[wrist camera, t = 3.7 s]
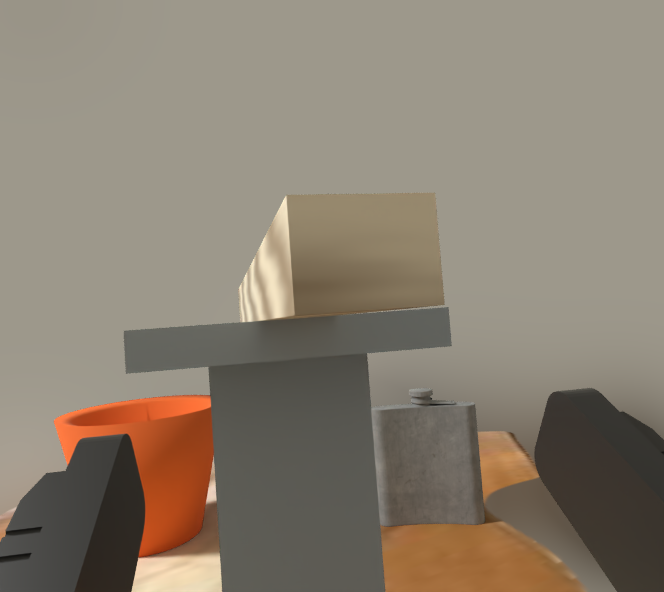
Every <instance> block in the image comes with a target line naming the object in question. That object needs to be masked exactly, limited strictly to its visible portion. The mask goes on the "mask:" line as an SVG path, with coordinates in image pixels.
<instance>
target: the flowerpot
mask: <svg viewBox="0 0 664 592" xmlns="http://www.w3.org/2000/svg"><path fill="white" fill-rule="evenodd" d="M54 424H55V427H56V429H57V433H58V436H59V439H60V442H61V446H62V448H63V452H64V455H65V458H66V461H67V465H68V464H69V462H70V459H71V457H72V454H73V452H74V449H75V447H76V445H77V443H78V441H79V440H80V439H82V438H87V437H97V436H107V435H117V434H128V435H129V436H130V438H131V441H132V445H133V449H134V453H135V458H136V462H137V466H138V470H139V474H140V479H141V483H142V487H143V491H144V497H145V525H144V532H143V537H142V542H141V546H140V551H139V556H138V557H144V556H149V555H153V554H157V553H161V552H164V551H167V550H170V549H173V548H175V547H177V546H180V545H182V544H184V543H185V542H187V541H189V540H190V539H192V538H193V537H195V536H196V535H197V534H198V533H199V532H200V530H201V528H202V524H203V518H204V511H205V505H206V499H207V493H208V487H209V481H210V474H211V468H212V462H213V456H214V447H213V431H212V415H211V398H210V396H209V395H182V396H181V395H180V396H166V397H165V396H164V397H154V398H145V399H137V400H129V401H122V402H116V403H110V404H105V405H100V406H94V407H90V408H86V409H82V410H77V411H74V412H70V413H68V414H65V415H62V416H60V417H58V418H56V419H55V420H54Z"/></svg>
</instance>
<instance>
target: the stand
mask: <svg viewBox="0 0 664 592" xmlns="http://www.w3.org/2000/svg"><path fill="white" fill-rule="evenodd" d="M124 346H125V364H126V373H138V372H151V371H163V370H174V369H185V368H198V367H209V382H210V398H211V415H212V431H213V447H214V463H215V480H216V496H217V512H218V528H219V544H220V561H221V577H222V592H385V583H384V570H383V557H382V544H381V531H380V517H379V504H378V491H377V478H376V465H375V452H374V439H373V426H372V413H371V400H370V387H369V374H368V361H367V353H375V352H387V351H398V350H411V349H423V348H434V347H446V346H451V333H450V322H449V309H448V307H446V308H432V309H419V310H404V311H391V312H377V313H363V314H349V315H336V316H322V317H308V318H294V319H281V320H267V321H253V322H239V323H227V324H212V325H198V326H184V327H171V328H157V329H145V330H129V331H124Z"/></svg>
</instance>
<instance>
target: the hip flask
mask: <svg viewBox="0 0 664 592" xmlns="http://www.w3.org/2000/svg"><path fill="white" fill-rule="evenodd" d="M432 394H433V393H432V389H429V388H419V389H418V388H417V389H411V390H409V395H410V396H412V398H411V403H412V404H401V405H389V406H377V407H372V408H371V413H372V426H373V439H374V452H375V465H376V478H377V491H378V504H379V517H380V525H382V526H387V527H390V526H400V525H413V524H470V525H479V524H483V523H484V522H485V514H484V503H483V491H482V479H481V468H480V456H479V444H478V433H477V421H476V409H475V403H472V402H454V401H439V400H438V401H437V400H432V398H430V395H432Z"/></svg>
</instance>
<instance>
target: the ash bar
mask: <svg viewBox="0 0 664 592" xmlns="http://www.w3.org/2000/svg"><path fill="white" fill-rule="evenodd" d="M238 292H239V308H240V322H253V321H267V320H281V319H294V318H308V317H322V316H336V315H347V314H357V313H367V312H377V311H387V310H397V309H407V308H417V307H428V306H438V305H444V293H443V280H442V269H441V256H440V246H439V233H438V221H437V209H436V198H435V193H389V194H388V193H386V194H318V195H317V194H316V195H286V197H285V198H284V201H283V202H282V205H281V207H280V208H279V210H278V212H277V214H276V216H275V218H274V220H273V222H272V224H271V226H270V228H269V230H268V232H267V234H266V236H265V238H264V240H263V242H262V244H261V246H260V248H259V250H258V252H257V254H256V256H255V258H254V260H253V262H252V264H251V266H250V268H249V270H248V272H247V274H246V276H245V278H244V280H243V282H242V284H241V286H240V287H239V289H238Z"/></svg>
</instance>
